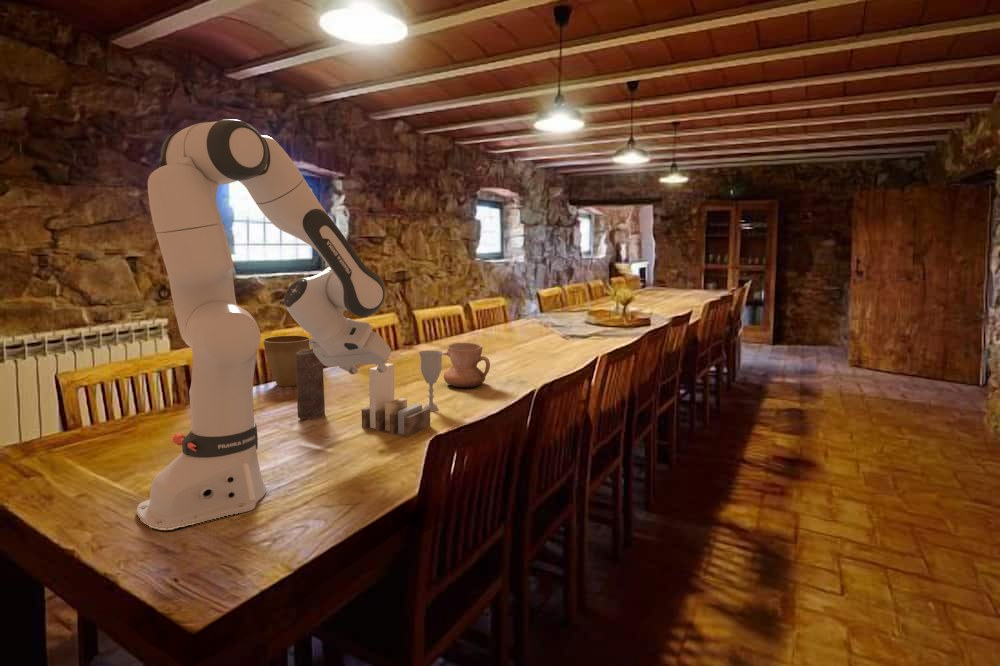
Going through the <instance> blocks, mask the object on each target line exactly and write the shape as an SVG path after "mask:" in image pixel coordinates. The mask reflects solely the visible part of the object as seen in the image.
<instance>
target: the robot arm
mask: <svg viewBox="0 0 1000 666" xmlns="http://www.w3.org/2000/svg"><path fill="white" fill-rule="evenodd" d="M235 182H239V183H240V184H241V185H243V186H244V187H245V188H246V190H247V192H248V193H249V195H250V197H251V198H252V199H253V201H254V203H255V204H256V206H257V207H258V209H259V211H261V213H262V214H263V216H265V217H266V218H267V220H269V222H271V224H272V225H273V226H274V227H275V228H277V229H279V230H280V231H282V232H284V233H286V234H288V235H291V236H292V237H295V238H296V239H299V240H300V241H302V242H303V243H306V245H308V246H310V247H311V248H312V249H314V250H315V252H317V253H318V254H319V256H320V257H321V258H322V259H323V262H325V264H326V265H327V266H326V267H325V268H324V269H323V270H322V271H321V272H319V273H317V274H314V275H313V276H312V275H311V276H310V277H302V278H298V279H296V280H295V281H293V282H292V283H291V285H289V286H288V288H287V289H286V291H285V293H284V296H283V303H284V307H285V308H286V310H287V312H288V313H289V315H290V316H291V317H292V319H293V320H294V321H295V322H296V323H297V324H298V325H299V326H300V327H301V329H302V330H304V331H305V332H307V333H309V334H310V336H311V338H310V341H309V348H310V347H311V349H313V352H314V354H315V355H316V357H317V358H318V359H319V360H320V362H321V363H322V364H323V366H325V367H327V368H333V367H339V368H340V369H341V370H344V371H346V372H348V373H349V375H353V376H354V375H357V374H358V372H359V368H358V367H357V366H359V365H360V366H361V365H372V364H373V365H375V366H376V367H377V366H378V367H377V370H378V371H379V372H380V373H382V372H386V370H387V366H386V365H385V364H387V362H388V360H389V358H390V356H391V353H392V349H391V347H390V346H389V344H388V343H387V342H386V341H385V339H383V337H381V335H380V334H379V333H377V332H375V331H373V326H372V325H371V324H370V323H369V322H366V321H359V320H354V319H351V318H347V317H346V316H344V312H345V311H348V312H349V313H352V315H355V316H357V317H360V318H367V317H370V316H372V315H374V314H375V313H377V312H378V311H379V310H380V308H382V305H383V303H384V301H385V299H386V298H385V297H386V286H385V285H386V284H385V283H384V280H383V279H382V278H381V277H380V276H379V274H377V273H375V272H374V271H372V270H371V269H369V268H368V267H367V266H366V265H365V264H364V262H363V261H362V260H361V258H360V257H359V256H358V254H357V252H356V251H355V250H354V248H353V247H352V246H351V244H350V243H349V241H348V240H347V238H346V237H345V235H344V234H343V233H342V231H341V230H340V228H339V227H338V225H337V224H335V222H334V220H332V219H331V217H330V215H329V214H328V213H327V211H326V210H325V209H324V207H323V206H322V204H321V203H320V201H319V199H318V198H317V197H316V195H315V194H314V192H313V191H312V189H311V187H310V186H309V184H308V182H307V181H306V179H305V177H304V176H303V174H302V173H301V171H300V170H299V167H298V166H297V165H296V164H295V162H294V161H293V160H292V158H291V157H290V156H289V154H288V153H287V152H286V151H285V150H284V148H283V147H282V146H281V145H280V143H278V141H277V140H275V139H274V138H272V136H271V137H270V136H268V135H262V134H261V133H260V132H259V131H258V130H257V128H256V127H254V126H253V125H252V124H249V123H247V122H245V121H242V120H239V119H233V118H232V119H229V118H225V119H220V120H218V121H211V122H210V121H209V122H199V123H195V124H193V125H190V126H187V127H185V128H180V129H178V130H175V131H173V132H172V133H171V134H169V135H168V136H167V137H166V138H165V139H164V141H163V143H162V145H161V148H160V164H159V167H158V168H156V169H155V170H153V172H151V173H150V174H149V177H148V179H147V193H148V195H147V196H148V202H149V209H150V215H151V220H152V223H153V224H152V225H153V228H154V232H155V235H156V239H157V242H158V245H159V249H160V253H161V255H162V260H163V263H164V266H165V268H166V273H167V277H168V282H169V286H170V288H169V289H170V293H171V298H172V303H173V307H174V308H173V309H174V314H175V318H176V322H177V326H178V331H179V335H180V337H181V339H182V340H183V342H184V343H185V344H186V345H187V346H189V347H190V348H191V351H192V370H191V371H192V372H191V383H190V388H189V391H188V393H189V406H190V420H191V429H190V431H189V432H188V434H187V435H183V434H182V433H180V432H177V433H174V434H173V436H172V437H171V441H172V443H174V444H176V445H177V446H181V450H182V452H181V453H180V454H179V455H178V456H176V458H174V459H173V460H172V461H171V462H170V463H169V464H168V465H166V466H165V467H164V468H163V469H162V470H160V472H158V473H157V474H156V475H155V476H154V478H153V480H152V482H151V486H150V493H149V499H146V500H144V501H142V502H140V503H139V504H138V505H137V507H136V516H137V515H138V516H139V518H140V519H141V520H142V521H144V522H145V523H146V524H148V525H151V526H153V527H158V528H166V529H168V528H173V527H177V526H182V525H186V524H192V523H197V522H202V521H206V520H211V519H215V520H217V519H216V518H219V519H221V518H220V517H223V518H225V517H224V516H227V517H229V516H228V515H231V516H234V515H233V514H235V515H237V514H238V513H239V514H243V513H246V512H250V511H253V510H254V509H255V508H256V506H257V503H258V502H259V500H261V499H262V498H263V497H265V495H266V493H267V487H266V485H265V481H264V479H263V475H262V473H261V468H260V463H259V459H258V452H257V450H258V447H259V446H258V445H259V443H258V442H259V441H258V440H259V438H258V437H259V436H258V435H259V434H258V428H257V427H258V426H257V425H258V424H256V423H255V412H254V411H255V410H254V386H253V385H254V376H255V369H256V362H257V352H258V349H259V347H260V345H261V340H262V338H261V337H262V336H261V330H260V328H259V324H258V323H257V321H256V320H255V318H254V317H253V316H252V314H251V313H250V312H249V311H248V310H246V309H244V308H243V307H240V306H239V305H238V303H237V300H236V299H237V298H236V293H235V285H234V261H233V258H232V254H231V253H232V252H231V250H230V245H229V243H228V238H227V234H226V231H225V227H224V223H223V220H222V216H221V212H220V209H219V206H218V204H217V203H218V202H217V194H218V193H217V192H218V188H219V186H222V185H227V184H232V183H235ZM139 518H138V519H139ZM211 521H212V520H211ZM159 523H161V524H159Z"/></svg>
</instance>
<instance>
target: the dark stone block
mask: <svg viewBox="0 0 1000 666" xmlns="http://www.w3.org/2000/svg"><path fill="white" fill-rule="evenodd" d="M296 379H297V385H296V406H297V407H296V409H297V418H298V419H300V420H316V419H317V420H318V419H320V418H321V419H322V418H324V417H326V411H325V410H326V409H325V408H326V407H325V405H326V404H325V385H324V365H323V364H322V363H321V362H320V360H319V359H318V358H317V357H316V355H315V354H314V352H313V349H312V348H311V349H310V348H309V349H302V350H300V351H299V352H297V353H296Z"/></svg>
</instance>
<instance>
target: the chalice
mask: <svg viewBox="0 0 1000 666" xmlns="http://www.w3.org/2000/svg"><path fill="white" fill-rule="evenodd" d="M443 352H444V351H441V350H432V349H431V350H421V351H419V352H418V354H419V357H420V371H421V375H422V376H423V377H422V378H423V379H424V381H425V383H426V384H428V386H429V388H428V392H429V394H428V396H427V397H428V398H429V399H428V400H429V402H428V403H427V404H425V406H424V408H423V409H425V408H430V412H437V411H438V410H439V408H438V405H437V404H436V403H434V402H433V399H434V398H435V395H434V394H433V393H434V391H435V390H434V387H433V386H434V384H437V382H438V379H439V377H440V374H441V372H442V370H443V369H442V368H443V366H442V362H443V361H442V359H443V356H444V355H443Z"/></svg>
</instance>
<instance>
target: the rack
mask: <svg viewBox="0 0 1000 666" xmlns="http://www.w3.org/2000/svg"><path fill="white" fill-rule="evenodd" d="M424 408H425V407H424ZM424 408H422V410H420V411H418V412H416V413H413V414H411V415H409V416H407V417H404V435H403V434H398V411H397V412H395V413H393V414H390V431H388V430H385V408H384V409H382V410H379V411H377V412H375V419H376V429H374V428H370V405H368V406H367V407H364V408H361V428H362V429H368V430H371V431H376V432H381V433H384V434H385V433H387V434H391V435H395V436H400V437H405V438H410V437H412V436H414V435H416V434H418V433H420V432H422V431H424V430H427V428H430V427H431V411H430V408H425V409H424Z"/></svg>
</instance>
